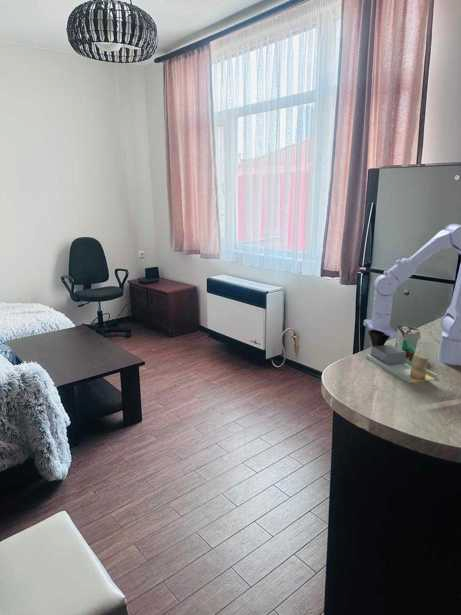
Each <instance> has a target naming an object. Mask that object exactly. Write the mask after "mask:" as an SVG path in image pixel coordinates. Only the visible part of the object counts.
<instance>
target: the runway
mask: <svg viewBox="0 0 461 615" xmlns="http://www.w3.org/2000/svg"><path fill="white" fill-rule="evenodd" d="M364 358H366V360H368V361H370V362H371V363H374V364H375V365H377V366H379V367H381V368H382V369H384V370H385V371H387V372H389V373H391V374H393V375H394V376H396V377H397V378H399V379H401V380H403V381H405V382H407V383H408V384H411V383H419V382H425V381H431V380H437V379H438V374H437V373H435V372H433V371H431V370H429V369H428V368H427V369H426V375H425V379H424V380H416V379H413V378H411V377H410V373H411V366H412V360H411V359H406V358H405V364H399V365H391V366H388V365H386V364H384V363H383V362H381V361H379V360H377V359H375V358H374V357H372V356H371V354H368V353H366V354H365V357H364Z"/></svg>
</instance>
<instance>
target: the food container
mask: <svg viewBox="0 0 461 615" xmlns="http://www.w3.org/2000/svg"><path fill="white" fill-rule="evenodd" d="M396 332H398V335H397V338H395V345H394V346H395V347H397V348H399V349H402V350H404V351H406V356H405V358H406V359H408V360H412V359H413V356H415V355H416V350H417V349H416V348H417V344H418V340H420V339H421V332H420V329H419V328H417V327H416V326H413V325H409V324H403V323H397V326H396Z"/></svg>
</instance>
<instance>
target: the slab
mask: <svg viewBox="0 0 461 615" xmlns="http://www.w3.org/2000/svg"><path fill="white" fill-rule="evenodd" d="M395 346H396V345H393V344H384V345H381V346H371V350H370V351H371V352H370V356H372V357H374V358H375V359H377V360H379V361H381V362H383V363H384V364H386V365H388V366H391V365H399V364H405V356H406V351H404V350H402V349H399V348H397V347H395Z"/></svg>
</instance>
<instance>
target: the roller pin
mask: <svg viewBox="0 0 461 615" xmlns="http://www.w3.org/2000/svg"><path fill="white" fill-rule="evenodd" d="M428 359H429V358H428V357H426V356H425V355H420V354H418V355H416V354H414V356H413V358H412V359H411V361H412V366H411V373H410V377H411V378H413V379H416V380H424V379H425V375H426V369H427V370H428V368H427V367H428Z"/></svg>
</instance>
